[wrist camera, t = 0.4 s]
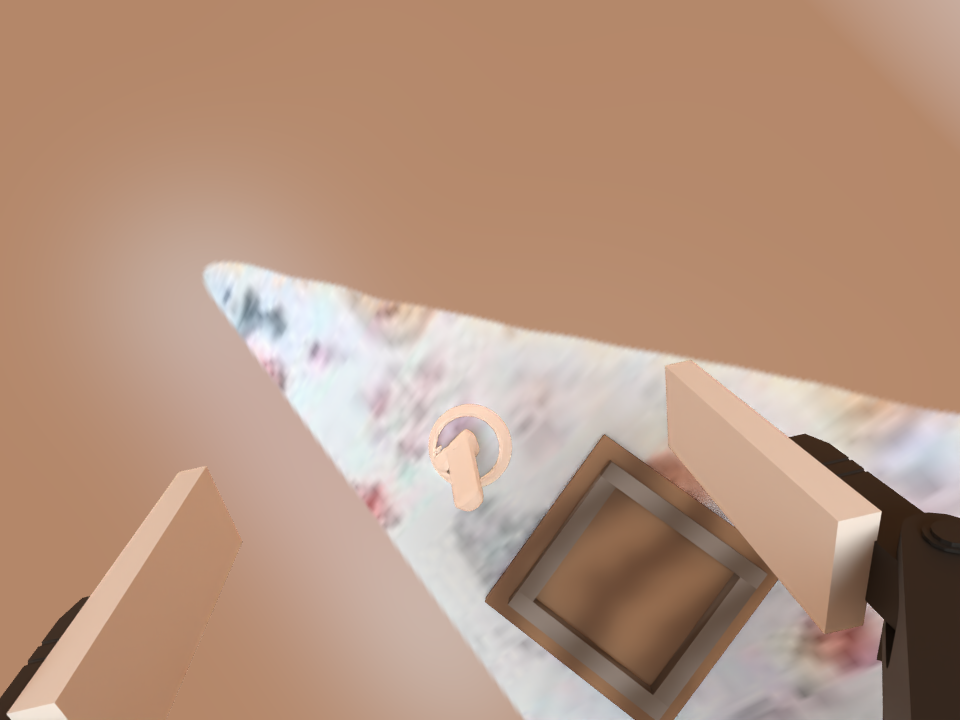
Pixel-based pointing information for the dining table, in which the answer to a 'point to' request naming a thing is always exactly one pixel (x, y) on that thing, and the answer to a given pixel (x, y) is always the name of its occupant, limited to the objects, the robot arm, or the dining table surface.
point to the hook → (468, 455)
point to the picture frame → (633, 584)
